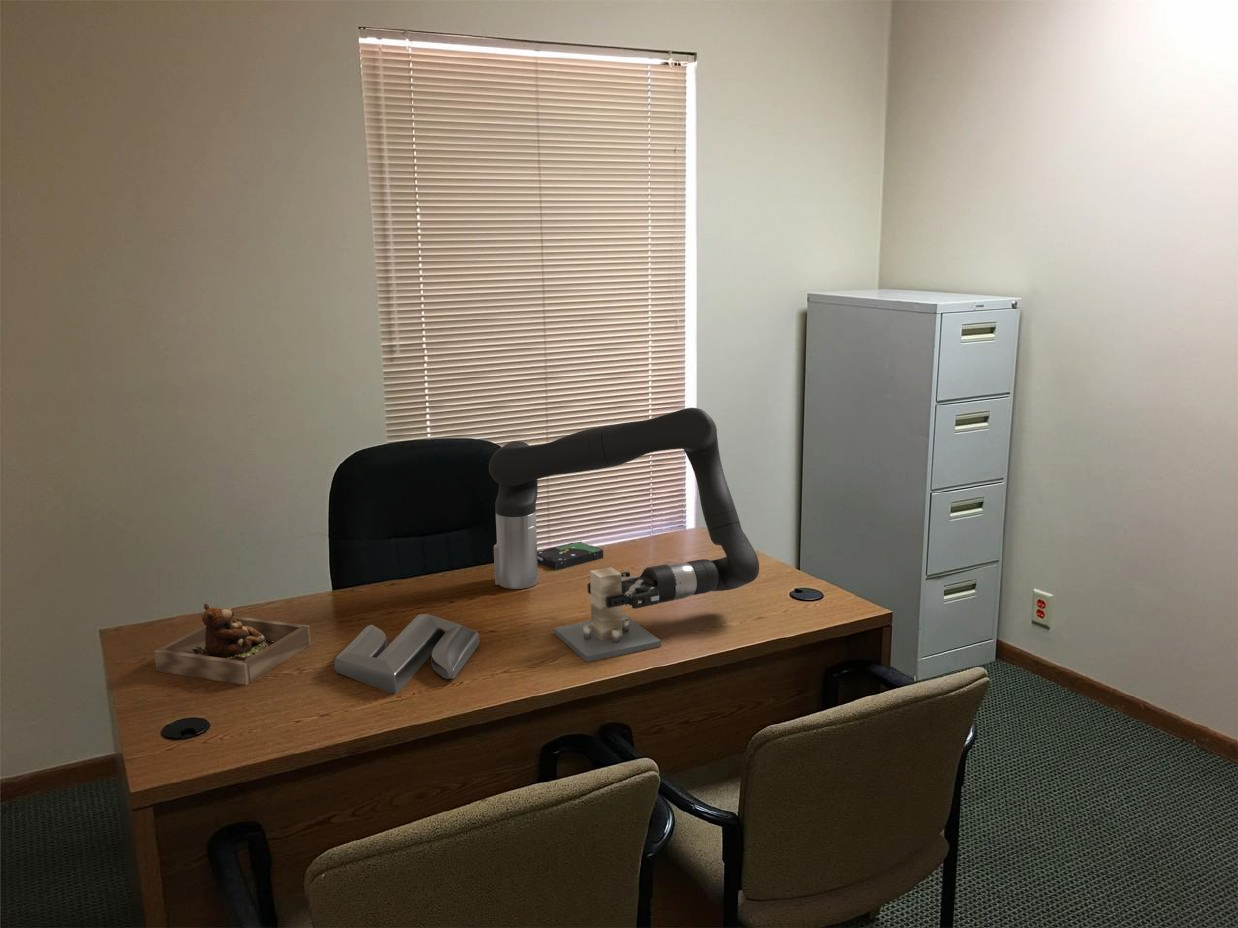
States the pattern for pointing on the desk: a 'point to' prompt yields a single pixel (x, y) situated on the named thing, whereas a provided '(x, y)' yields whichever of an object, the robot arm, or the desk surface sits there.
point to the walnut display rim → (184, 662)
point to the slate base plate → (606, 640)
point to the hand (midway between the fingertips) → (597, 595)
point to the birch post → (601, 615)
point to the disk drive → (568, 555)
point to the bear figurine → (228, 636)
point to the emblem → (407, 652)
